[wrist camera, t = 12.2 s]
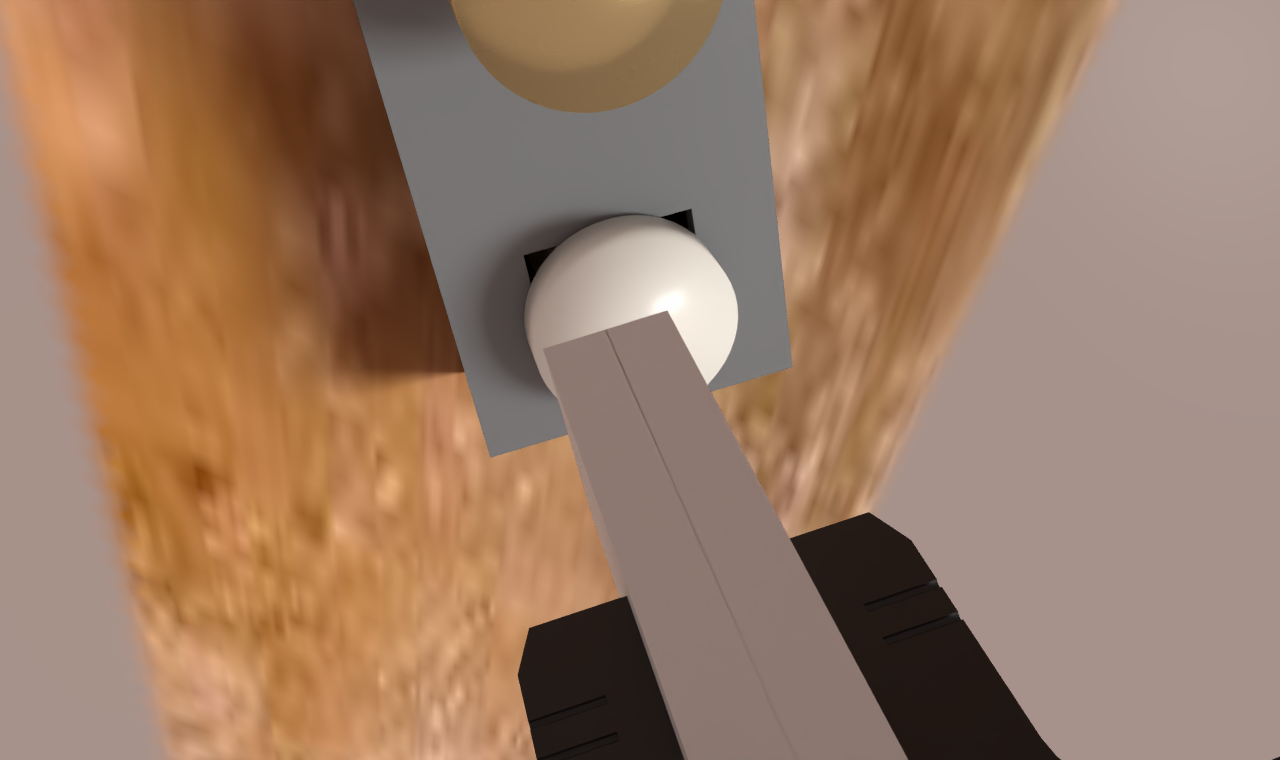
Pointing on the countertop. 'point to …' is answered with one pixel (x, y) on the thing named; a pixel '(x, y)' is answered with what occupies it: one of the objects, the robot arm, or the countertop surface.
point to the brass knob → (585, 46)
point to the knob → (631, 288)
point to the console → (574, 191)
